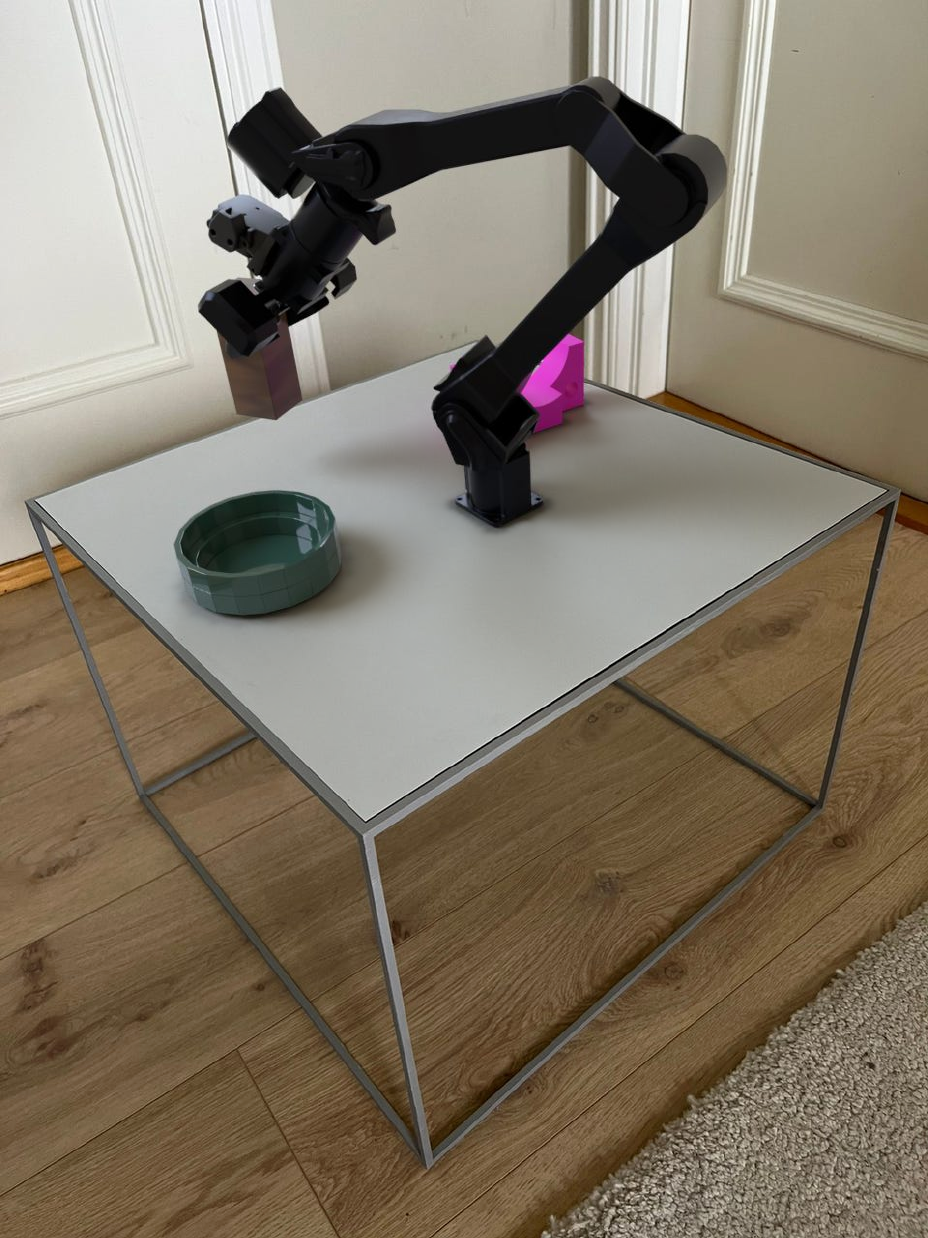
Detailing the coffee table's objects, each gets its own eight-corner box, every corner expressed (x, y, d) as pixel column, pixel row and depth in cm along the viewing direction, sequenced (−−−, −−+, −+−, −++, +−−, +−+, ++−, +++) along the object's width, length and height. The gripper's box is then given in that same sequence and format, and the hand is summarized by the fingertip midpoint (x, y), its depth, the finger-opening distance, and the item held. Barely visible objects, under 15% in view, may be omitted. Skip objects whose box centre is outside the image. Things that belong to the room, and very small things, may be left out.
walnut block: (302, 400, 99) (280, 280, 92) (276, 420, 96) (250, 297, 88) (263, 394, 101) (238, 276, 94) (236, 414, 98) (207, 293, 90)
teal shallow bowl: (371, 573, 85) (365, 531, 83) (230, 641, 79) (218, 598, 76) (293, 514, 95) (285, 474, 92) (161, 570, 88) (148, 529, 85)
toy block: (483, 449, 103) (479, 384, 98) (455, 428, 107) (450, 365, 102) (596, 411, 108) (597, 348, 103) (565, 393, 112) (564, 331, 108)
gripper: (310, 142, 89) (241, 254, 100) (187, 194, 76) (123, 317, 87) (393, 233, 91) (316, 333, 102) (287, 299, 78) (211, 406, 89)
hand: (245, 344), depth 95 cm, fingers closed on walnut block, 5 cm apart
